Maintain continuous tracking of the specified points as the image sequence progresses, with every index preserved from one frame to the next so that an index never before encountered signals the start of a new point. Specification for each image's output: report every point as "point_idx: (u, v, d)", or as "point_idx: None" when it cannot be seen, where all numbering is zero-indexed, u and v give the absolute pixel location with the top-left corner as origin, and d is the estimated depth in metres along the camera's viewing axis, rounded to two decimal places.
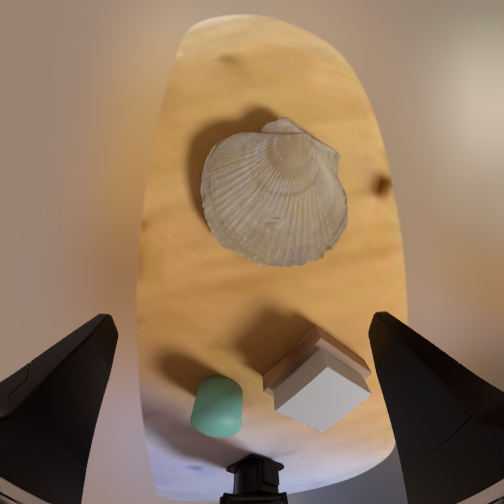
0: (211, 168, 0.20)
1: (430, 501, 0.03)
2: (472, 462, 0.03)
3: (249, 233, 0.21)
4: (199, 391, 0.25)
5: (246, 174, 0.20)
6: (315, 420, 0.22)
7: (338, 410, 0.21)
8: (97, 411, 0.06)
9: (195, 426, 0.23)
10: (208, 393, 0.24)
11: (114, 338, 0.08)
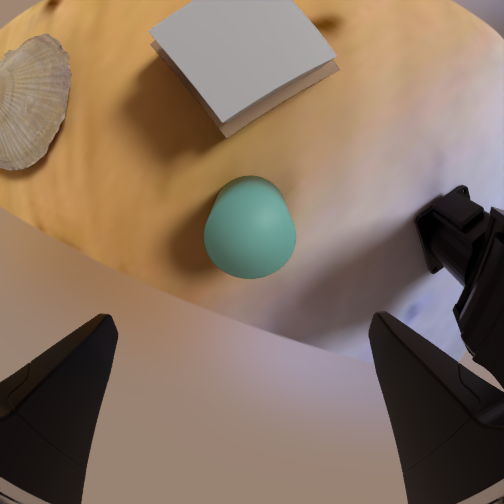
0: None
1: (430, 501, 0.03)
2: (472, 462, 0.03)
3: (33, 128, 0.14)
4: None
5: None
6: (286, 57, 0.10)
7: (274, 17, 0.09)
8: (97, 411, 0.06)
9: (252, 274, 0.16)
10: None
11: (114, 338, 0.08)
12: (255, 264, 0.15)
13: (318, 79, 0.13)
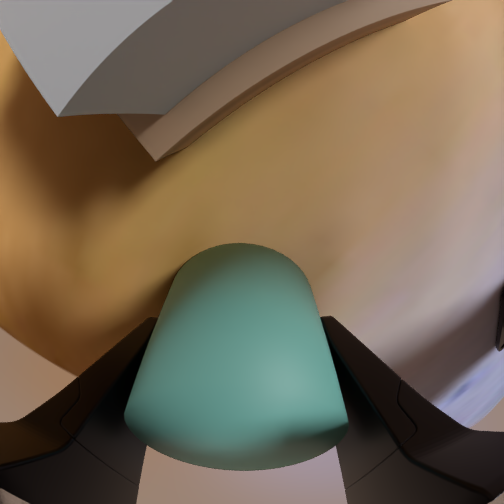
0: None
1: None
2: (400, 497, 0.03)
3: None
4: None
5: None
6: None
7: None
8: None
9: (244, 468, 0.06)
10: None
11: None
12: (251, 462, 0.06)
13: (414, 4, 0.03)
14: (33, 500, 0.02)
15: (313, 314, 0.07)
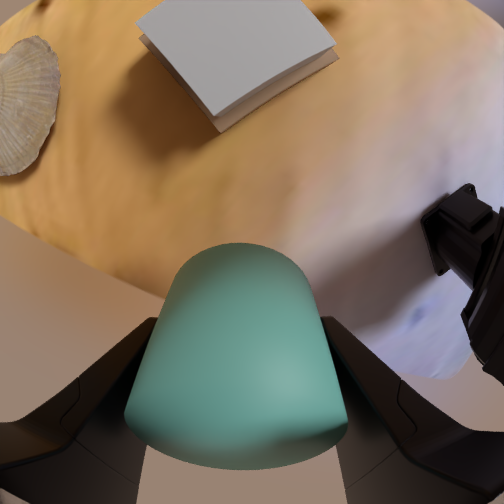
0: None
1: None
2: (400, 497, 0.03)
3: (24, 132, 0.13)
4: None
5: None
6: (281, 45, 0.09)
7: (268, 3, 0.08)
8: None
9: (244, 467, 0.06)
10: None
11: None
12: (250, 462, 0.06)
13: (316, 68, 0.12)
14: (33, 499, 0.02)
15: (313, 313, 0.07)
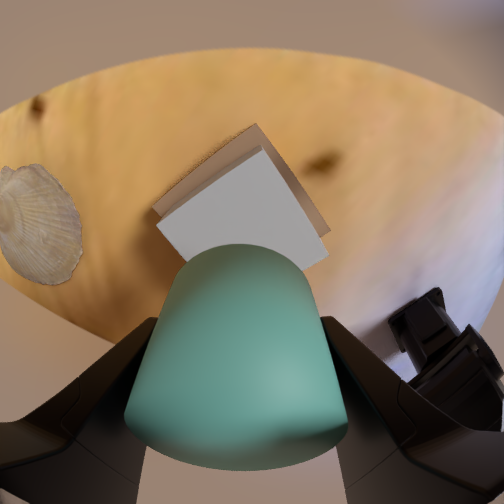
0: (20, 271, 0.19)
1: None
2: (400, 497, 0.03)
3: (54, 257, 0.18)
4: None
5: (17, 250, 0.17)
6: None
7: (275, 220, 0.13)
8: None
9: (244, 468, 0.06)
10: None
11: None
12: (250, 463, 0.06)
13: None
14: (33, 499, 0.02)
15: (313, 315, 0.07)
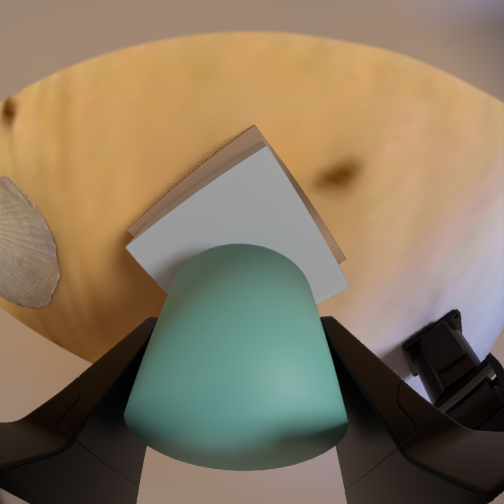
0: (0, 292, 0.16)
1: None
2: (400, 497, 0.03)
3: (30, 280, 0.15)
4: None
5: None
6: None
7: (283, 243, 0.10)
8: None
9: (244, 468, 0.06)
10: None
11: None
12: (250, 462, 0.06)
13: None
14: (33, 499, 0.02)
15: (313, 314, 0.07)
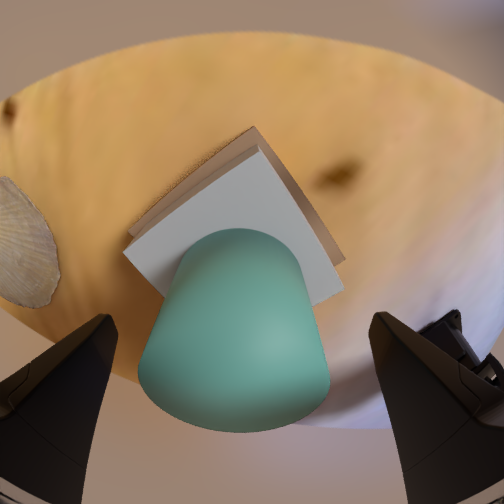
0: (0, 292, 0.16)
1: (430, 501, 0.03)
2: (472, 462, 0.03)
3: (31, 280, 0.15)
4: None
5: None
6: None
7: None
8: (97, 411, 0.06)
9: (241, 429, 0.07)
10: None
11: (114, 338, 0.08)
12: (247, 421, 0.07)
13: None
14: None
15: (300, 285, 0.08)
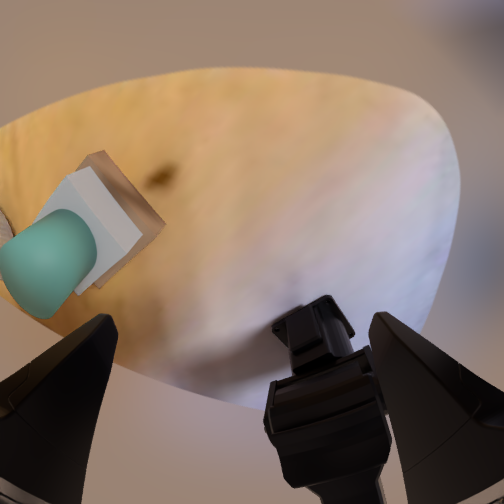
0: None
1: (430, 501, 0.03)
2: (472, 462, 0.03)
3: None
4: None
5: None
6: (97, 258, 0.16)
7: None
8: (97, 411, 0.06)
9: (39, 315, 0.12)
10: None
11: (114, 338, 0.08)
12: (37, 306, 0.11)
13: (142, 247, 0.19)
14: None
15: (64, 235, 0.12)
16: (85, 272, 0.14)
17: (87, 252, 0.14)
